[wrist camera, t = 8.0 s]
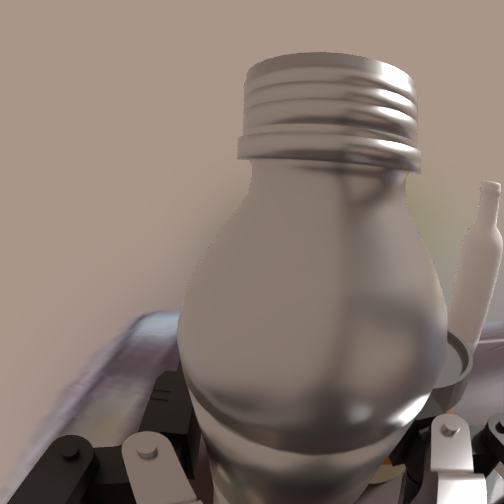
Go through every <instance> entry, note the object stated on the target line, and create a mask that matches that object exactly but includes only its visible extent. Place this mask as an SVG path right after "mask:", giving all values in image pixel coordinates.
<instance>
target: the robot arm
mask: <svg viewBox="0 0 504 504" xmlns="http://www.w3.org/2000/svg"><path fill="white" fill-rule="evenodd" d="M200 438H201V429H200V426H199V423H198V420H197V417H196V413H195V410H194V407H193V404H192V400H191V397H190V393H189V390H188V386H187V384H186V381H185V377H184V373H183V370H182V365H181V359H180V362H179V366H178V369H177V371H165V372H164V373H163V374H162V375H161V376H159V377H158V378H157V379H156V382H155V385H154V388H153V392H152V393H151V396H150V400H149V402H148V404H147V407H146V410H145V413H144V416H143V419H142V422H141V424H140V427H139V430H138V432H137V433H136V434H133V435H131V436H130V437H128V438H127V439H126V440H125V442H124V443H123V445H120V446H115V447H99V448H93V447H92V445H91V444H90V442H89V441H88V440H86V439H85V438H83V437H80V436H76V435H66V436H62V437H60V438H58V439H56V440H55V441H54V442H53V443H52V444H51V445H50V446H49V448H48V449H47V450H46V452H45V453H44V454H43V456H42V457H41V458H40V459H39V461H38V462H37V463H36V465H35V466H34V467H33V469H32V470H31V471H30V473H29V474H28V476H27V477H26V478H25V480H24V481H23V482H22V484H21V485H20V486H19V488H18V489H17V491H16V492H15V493H14V495H13V496H12V497H11V499H10V500H9V502H8V503H7V504H203V503H202V501H201V500H200V499H198V498H197V497H196V495H195V493H194V491H193V489H192V487H191V485H190V483H189V481H188V479H193V480H195V477H196V469H197V461H198V453H199V446H200ZM388 457H389V459H390V462H391V464H392V466H397V465H402V464H405V466H406V470H405V471H404V473H403V476H402V483H401V489H400V496H399V501H398V504H504V480H503V479H502V478H501V477H500V475H499V474H498V473H497V472H496V471H495V470H494V468H495V467H496V466H497V464H498V463H499V462H500V461H501V462H502V463H503V464H504V413H497V414H494V415H492V416H491V417H490V419H489V420H488V422H487V424H486V425H483V426H468V424H467V423H466V422H465V421H464V420H463V419H462V418H460V417H459V416H456V415H453V414H445V413H444V412H443V410H442V409H441V407H440V406H439V404H438V403H437V402H436V400H435V399H434V397H433V396H432V394H430V396H429V397H428V399H427V401H426V403H425V404H424V406H423V408H422V409H421V411H420V412H419V413H418V415H417V416H416V418H415V420H414V421H413V423H412V424H411V426H410V427H409V429H408V430H407V431H406V433H405V434H404V436H403V437H402V439H401V440H400V441H399V443H398V444H397V445H396V447H395V448H394V449H393V451H392V452H391V453H390V455H389V456H388Z"/></svg>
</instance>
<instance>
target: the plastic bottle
mask: <svg viewBox="0 0 504 504" xmlns="http://www.w3.org/2000/svg"><path fill="white" fill-rule="evenodd" d="M417 123H418V107H417V93H416V91H415V84H414V81H413V80H412V79H411V78H410V77H409V76H408V75H407V74H406V73H404V72H403V71H401V70H399V69H398V68H395V67H393V66H390V65H388V64H385V63H383V62H380V61H376V60H373V59H369V58H365V57H361V56H354V55H349V54H341V53H326V52H312V53H297V54H289V55H282V56H278V57H274V58H271V59H267V60H264V61H262V62H260V63H257V64H255V65H254V66H253V67H251V68H250V69H249V71H248V73H247V80H246V81H245V83H244V119H243V136H242V137H239V138H238V155H237V157H238V158H237V159H241V160H250V162H251V164H252V178H251V183H250V188H249V193H248V195H247V196H246V197H245V199H244V200H243V201H242V203H241V204H240V205H239V206H238V208H237V209H236V211H235V212H234V213H233V215H232V216H231V217H230V218H229V220H228V221H227V223H226V224H225V225H224V226H223V228H222V229H221V231H220V232H219V233H218V235H217V236H216V237H215V239H214V240H213V242H212V243H211V245H210V246H209V248H208V250H207V251H206V253H205V255H204V257H203V258H202V260H201V262H200V263H199V265H198V267H197V268H196V270H195V272H194V274H193V275H192V277H191V279H190V281H189V283H188V285H187V288H186V292H185V296H184V300H183V304H182V308H181V312H180V316H179V320H178V327H177V334H176V335H177V341H178V346H179V352H180V358H181V365H182V370H183V373H184V377H185V381H186V384H187V386H188V390H189V393H190V397H191V400H192V404H193V407H194V410H195V413H196V417H197V420H198V423H199V426H200V429H201V432H202V435H203V438H204V441H205V444H206V449H207V454H208V460H209V465H210V470H211V474H212V480H213V485H214V494H213V504H355V503H356V502H357V500H358V499H359V497H360V495H361V494H362V493H363V492H364V490H365V489H366V487H367V486H368V484H369V483H370V481H371V480H372V478H373V477H374V475H375V473H376V472H377V470H378V469H379V467H380V466H381V465H382V464H383V462H384V461H385V460H386V459H387V457H388V456H389V455H390V453H391V452H392V451H393V449H394V448H395V447H396V445H397V444H398V443H399V441H400V440H401V439H402V437H403V436H404V434H405V433H406V431H407V430H408V429H409V427H410V426H411V424H412V423H413V421H414V420H415V418H416V416H417V415H418V413H419V412H420V411H421V409H422V408H423V406H424V404H425V403H426V401H427V399H428V397H429V396H430V394H431V392H432V390H433V387H434V385H435V383H436V381H437V379H438V377H439V375H440V372H441V370H442V368H443V366H444V364H445V358H446V350H447V306H446V302H445V299H444V295H443V292H442V289H441V285H440V282H439V278H438V275H437V272H436V269H435V266H434V263H433V261H432V259H431V256H430V254H429V252H428V250H427V247H426V245H425V243H424V241H423V239H422V237H421V235H420V233H419V231H418V229H417V227H416V225H415V223H414V220H413V219H412V217H411V215H410V213H409V211H408V209H407V207H406V193H405V192H406V191H405V181H406V177H407V175H408V174H409V173H417V174H420V173H421V157H422V153H421V151H420V150H418V149H417V130H418V129H417V128H418V124H417Z"/></svg>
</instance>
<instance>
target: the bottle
mask: <svg viewBox="0 0 504 504" xmlns="http://www.w3.org/2000/svg"><path fill="white" fill-rule="evenodd" d="M500 188H501V185H500V184H499V183H496V182H491V181H486V180H482V181H481V187H480V192H481V193H480V203H479V211H478V219H477V222H476V223H475V224H474V225H473V226H471V227H470V228H469V229H468V230H467V232H466V234H465V236H464V239H463V242H462V248H461V254H460V258H459V263H458V268H457V273H456V278H455V283H454V286H453V291H452V295H451V299H450V303H449V306H448V310H447V328H448V329H449V330H451V331H453V332H454V333H456V334H457V335H458V336H459V337H461V338H462V339H463V340H464V342H465V343H466V344H467V345H468V347H469V348H470V350H471V352H472V355H473V353H474V351H475V349H476V346H477V344H478V341H479V337H480V334H481V331H482V328H483V325H484V322H485V319H486V316H487V312H488V309H489V306H490V302H491V299H492V295H493V291H494V288H495V284H496V280H497V276H498V271H499V267H500V262H501V257H502V253H503V242H502V236H501V234H500V232H499V230H498V229H497V227H496V223H497V216H498V208H499V199H500V195H501V190H500Z"/></svg>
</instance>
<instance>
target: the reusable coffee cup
mask: <svg viewBox="0 0 504 504" xmlns="http://www.w3.org/2000/svg"><path fill="white" fill-rule="evenodd" d="M472 366H473V356H472V352H471V350H470V348H469V347H468V345H467V344H466V343H465V342H464V340H463V339H462V338H461V337H459V336H458V335H457V334H456V333H454V332H453V331H451V330H449V329H448V328H447V350H446V358H445V364H444V366H443V368H442V370H441V372H440V375H439V377H438V379H437V381H436V383H435V385H434V387H433V390H432V392H431V394H432V396H433V397H434V399H435V400H436V402H437V403H438V404H439V406H440V407H441V409H442V410H443V412H444V413H445V414H450V412H451V408H452V407H454V406H455V405H456V404H457V403H458V402H459V401H460V399H461V397H462V395H463V393H464V391H465V388H466V385H467V382H468V379H469V376H470V372H471V369H472ZM405 467H406V466H405V464H402V465H397V466H392V464H391V462H390V459H389V457H387V459H386V460H385V461H384V462H383V464H382V465H381V466H380V467H379V469H378V470H377V472H376V473H375V475H374V477H373V478H372V480H371V481H370V483H369V484H376V483H383V482H386V481H389V480H391V479H393V478H394V477H396V476H397V475H398V474H399V473H401V471H402V470H403V469H404V468H405Z"/></svg>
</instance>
